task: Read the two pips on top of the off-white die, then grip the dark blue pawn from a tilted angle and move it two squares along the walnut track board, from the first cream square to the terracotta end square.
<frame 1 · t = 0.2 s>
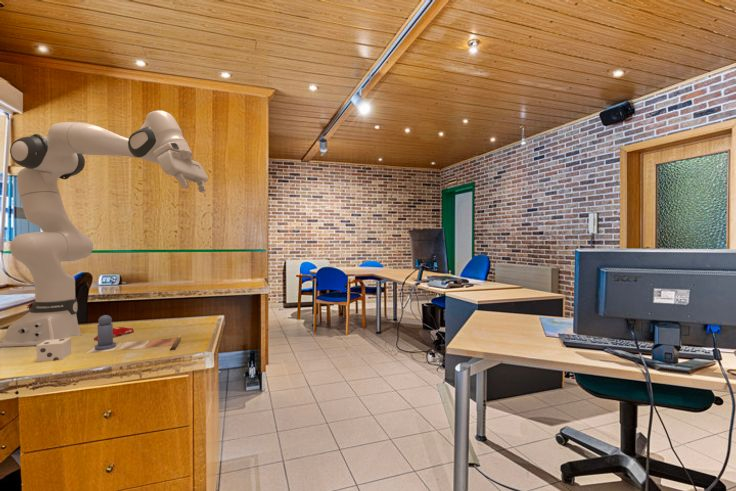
hand: (194, 189, 122), 54 cm above the worktop, tool tilted 30°, fingers open, 8 cm apart
pawn: (105, 347, 116), point 1 cm above the worktop, touching board
race car: (114, 340, 130), on the worktop
board: (134, 348, 118), on the worktop
die: (54, 361, 106), on the worktop
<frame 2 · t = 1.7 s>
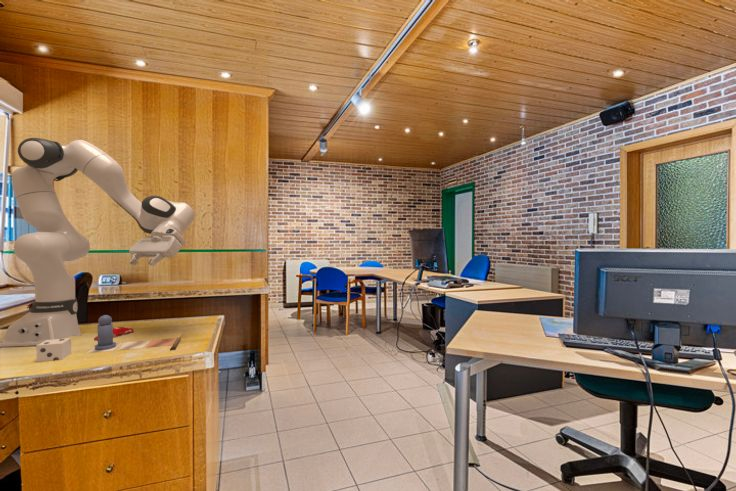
hand: (141, 264, 127), 27 cm above the worktop, tool tilted 45°, fingers open, 8 cm apart
nothing on the worktop moved.
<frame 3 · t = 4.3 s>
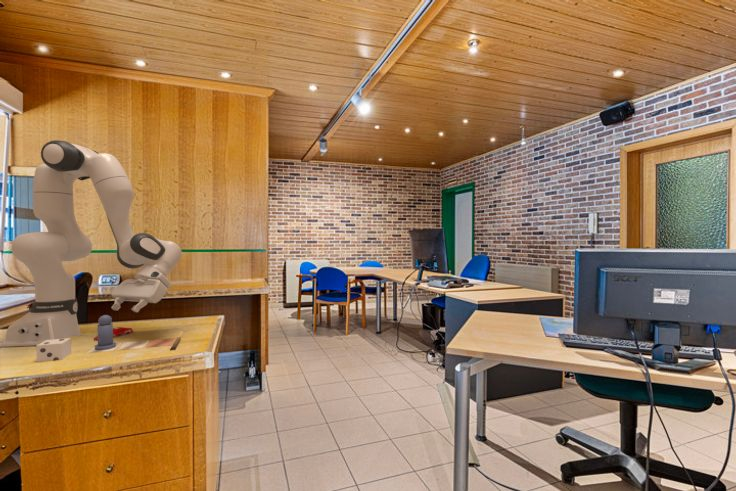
hand: (123, 310, 121), 12 cm above the worktop, tool tilted 45°, fingers open, 8 cm apart
nothing on the worktop moved.
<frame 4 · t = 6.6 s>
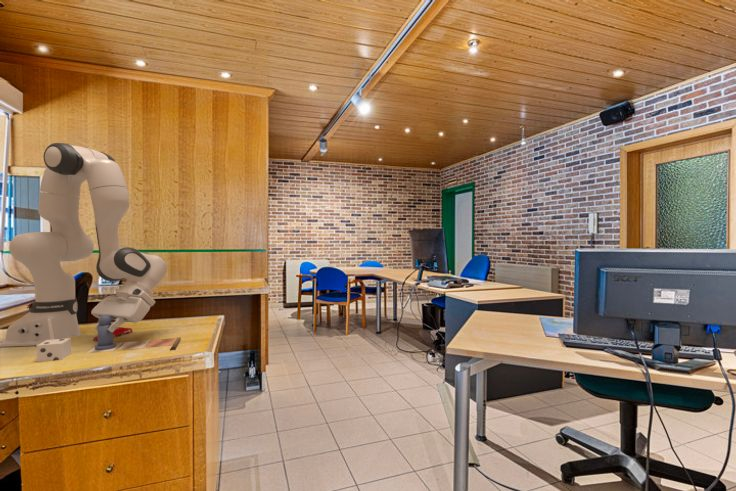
hand: (103, 330, 115), 7 cm above the worktop, tool tilted 45°, fingers closed on pawn, 4 cm apart
pawn: (105, 347, 116), point 1 cm above the worktop, touching board, gripper
everything else where it was.
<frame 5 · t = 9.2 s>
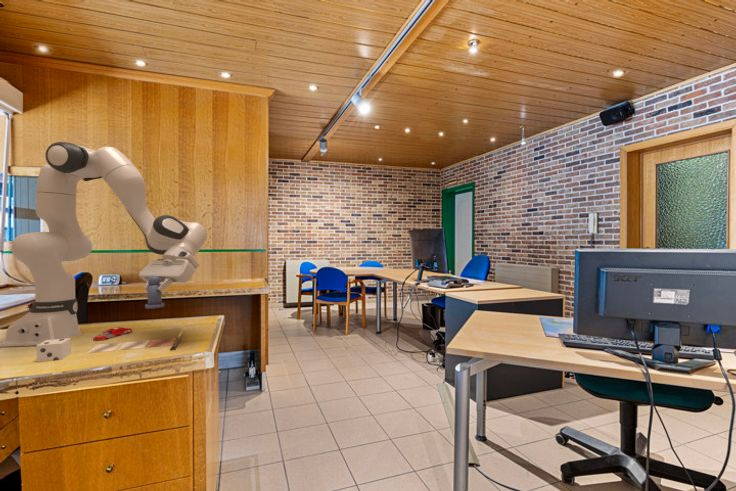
hand: (152, 290, 119), 19 cm above the worktop, tool tilted 45°, fingers closed on pawn, 4 cm apart
pawn: (155, 307, 120), point 14 cm above the worktop, touching gripper
everything else where it was.
when the fingers open (8 cm above the worktop, at t = 11.7 s): pawn drops 1 cm, resting on board.
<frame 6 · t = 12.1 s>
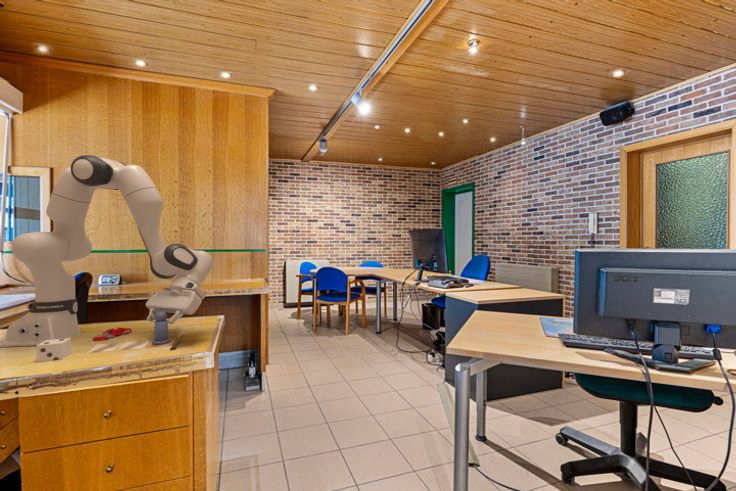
hand: (159, 321, 120), 8 cm above the worktop, tool tilted 45°, fingers open, 8 cm apart
pawn: (161, 342, 121), point 1 cm above the worktop, touching board
everything else where it was.
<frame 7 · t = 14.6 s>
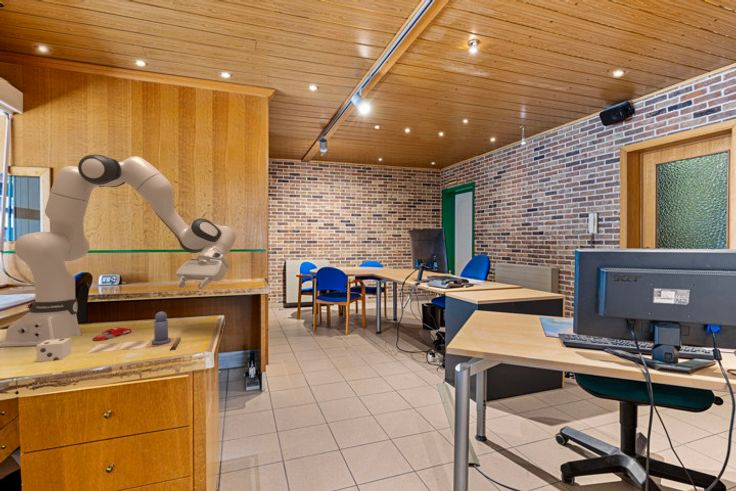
hand: (190, 287, 132), 19 cm above the worktop, tool tilted 45°, fingers open, 8 cm apart
nothing on the worktop moved.
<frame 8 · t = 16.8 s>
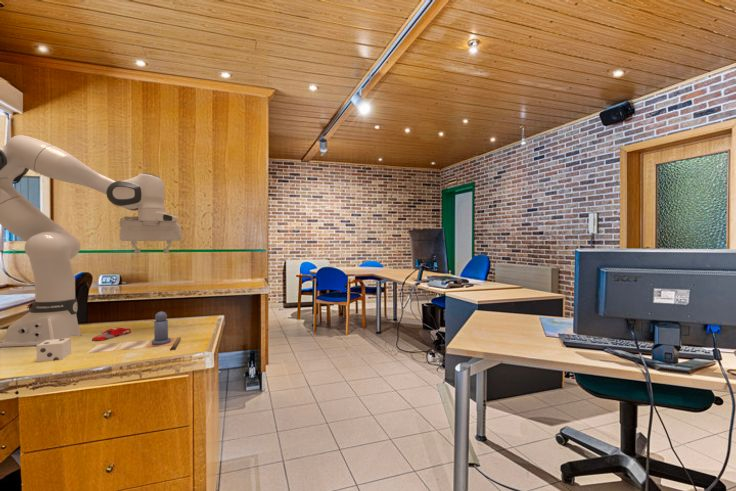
hand: (152, 253, 135), 31 cm above the worktop, tool pointing down, fingers open, 8 cm apart
nothing on the worktop moved.
at the end: pawn 0.1 cm from the target spot on the board, point 1.2 cm above the board's base; pawn tilted 0°; the gripper is holding nothing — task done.
